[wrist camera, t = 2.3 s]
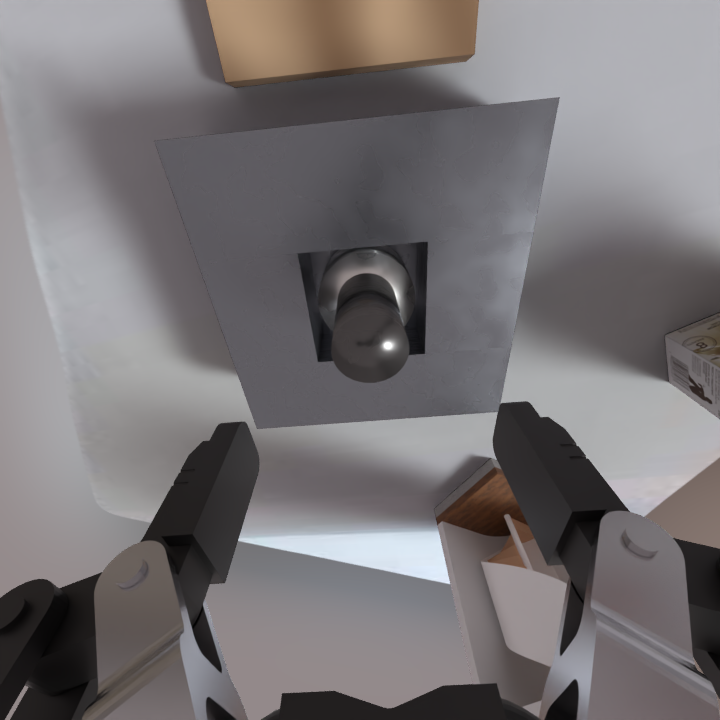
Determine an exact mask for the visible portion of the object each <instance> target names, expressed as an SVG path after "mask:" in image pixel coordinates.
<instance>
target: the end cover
mask: <svg viewBox="0 0 720 720" xmlns="http://www.w3.org/2000/svg"><path fill="white" fill-rule="evenodd" d="M318 304H319V309H320V313H321V315H322V318H323V320H324V321H325V323H326V324H327V326H328V327H329V328H330V329H331V330H332V331H333V338H332V345H331V355H332V359H333V361H334V364H335V365H336V367H337V368H338V370H339V371H340V372H341V373H342V374H344V375H345V376H347V377H348V378H350V379H352V380H355V381H358V382H363V383H376V382H381V381H384V380H387V379H389V378H391V377H392V376H394V375H395V374H397V373H398V372H399V371H400V370H401V369H402V368H403V366H404V365H405V363H406V361H407V359H408V355H409V342H408V338H407V334H406V331H405V327H404V326H405V325H406V324H407V322H408V321H409V319H410V317H411V315H412V312H413V310H414V305H415V290H414V285H413V283H412V280H411V278H410V275H409V273H408V271H407V269H406V266H405V264H404V263H403V261H402V259H401V258H400V256H399V255H398V254H397V253H396V252H395V251H394V250H392V249H391V248H390V247H388V246H386V245H385V246H374V247H363V248H352V249H341V250H338V251H337V252H336V253H335V254H334V255H333V256H332V257H331V259H330V260H329V262H328V263H327V265H326V267H325V270H324V274H323V277H322V281H321V284H320V288H319V293H318Z"/></svg>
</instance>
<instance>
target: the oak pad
mask: <svg viewBox="0 0 720 720" xmlns="http://www.w3.org/2000/svg"><path fill="white" fill-rule="evenodd" d="M206 3H207V7H208V11H209V15H210V19H211V24H212V28H213V32H214V36H215V40H216V45H217V49H218V53H219V57H220V61H221V65H222V70H223V74H224V78H225V82H226V83H228V84H229V85H231V86H233V87H244V86H253V85H262V84H271V83H280V82H288V81H297V80H306V79H315V78H324V77H333V76H342V75H350V74H359V73H368V72H377V71H386V70H395V69H404V68H412V67H421V66H430V65H439V64H448V63H457V62H466V61H467V60H468V59H469V58H471V57H472V56H473V55H474V54H475V42H476V29H477V16H478V4H479V0H206Z"/></svg>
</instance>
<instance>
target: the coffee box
mask: <svg viewBox="0 0 720 720" xmlns="http://www.w3.org/2000/svg"><path fill="white" fill-rule="evenodd" d="M665 344H666V354H667V365H668V375H669V383H670V384H672V385H673V386H675V387H676V388H678V389H679V390H681V391H682V392H683V393H685V394H686V395H687V396H689V397H690V398H691V399H693V400H694V401H696V402H697V403H698V404H700V405H701V406H702V407H704V408H705V409H707V410H708V411H709V412H711V413H712V414H713V415H715V416H716V417H718V418H719V419H720V313H718V314H715V315H713V316H711V317H708V318H706V319H703V320H701V321H698V322H696V323H694V324H691V325H689V326H686V327H684V328H681V329H679V330H676V331H674V332H672V333H669V334H667V335H665Z"/></svg>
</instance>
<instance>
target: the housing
mask: <svg viewBox="0 0 720 720" xmlns="http://www.w3.org/2000/svg"><path fill="white" fill-rule="evenodd" d="M559 98H560V97H558V98H549V99H539V100H530V101H521V102H511V103H502V104H493V105H483V106H474V107H465V108H455V109H446V110H437V111H427V112H418V113H409V114H400V115H390V116H381V117H372V118H362V119H353V120H344V121H334V122H325V123H316V124H306V125H297V126H288V127H278V128H269V129H260V130H251V131H241V132H232V133H223V134H213V135H204V136H195V137H185V138H176V139H167V140H157V141H155V144H156V147H157V150H158V153H159V155H160V158H161V161H162V164H163V167H164V169H165V172H166V175H167V178H168V181H169V184H170V186H171V189H172V192H173V195H174V198H175V200H176V203H177V206H178V209H179V212H180V214H181V217H182V220H183V223H184V226H185V228H186V231H187V234H188V237H189V240H190V242H191V245H192V248H193V251H194V254H195V256H196V259H197V262H198V265H199V268H200V270H201V273H202V276H203V279H204V282H205V284H206V287H207V290H208V293H209V296H210V298H211V301H212V304H213V307H214V310H215V312H216V315H217V318H218V321H219V324H220V326H221V329H222V332H223V335H224V338H225V340H226V343H227V346H228V349H229V352H230V354H231V357H232V360H233V363H234V366H235V368H236V371H237V374H238V377H239V380H240V382H241V385H242V388H243V391H244V394H245V396H246V399H247V402H248V405H249V408H250V410H251V413H252V416H253V419H254V422H255V424H256V427H257V429H263V428H277V427H291V426H305V425H319V424H333V423H348V422H362V421H376V420H390V419H404V418H418V417H432V416H446V415H460V414H474V413H488V412H498V409H499V406H500V402H501V397H502V392H503V387H504V382H505V377H506V371H507V366H508V361H509V356H510V351H511V346H512V340H513V335H514V330H515V325H516V320H517V315H518V309H519V304H520V299H521V294H522V289H523V284H524V278H525V273H526V268H527V263H528V258H529V253H530V247H531V242H532V237H533V232H534V227H535V222H536V216H537V211H538V206H539V201H540V196H541V191H542V185H543V180H544V175H545V170H546V165H547V160H548V154H549V149H550V144H551V139H552V134H553V129H554V123H555V118H556V113H557V108H558V103H559ZM385 245H386V246H388V247H390V248H391V249H392V250H394V251H395V252H396V253H397V254H398V255H399V256H400V258H401V259H402V261H403V263H404V264H405V266H406V269H407V271H408V273H409V275H410V278H411V280H412V283H413V285H414V290H415V305H414V310H413V312H412V315H411V317H410V319H409V321H408V322H407V324H406V325H405V326H404V327H405V331H406V334H407V338H408V342H409V355H408V359H407V361H406V363H405V365H404V366H403V368H402V369H401V370H400V371H399V372H398V373H397V374H395V375H394V376H392V377H391V378H389V379H387V380H384V381H381V382H376V383H363V382H358V381H355V380H352V379H350V378H348V377H347V376H345V375H344V374H342V373H341V372H340V371H339V370H338V368H337V367H336V365H335V364H334V361H333V359H332V355H331V345H332V338H333V331H332V330H331V329H330V328H329V327H328V326H327V324H326V323H325V321H324V320H323V318H322V315H321V313H320V309H319V304H318V293H319V288H320V284H321V281H322V277H323V274H324V270H325V267H326V265H327V263H328V262H329V260H330V259H331V257H332V256H333V255H334V254H335V253H336V252H337V251H338V250H341V249H352V248H363V247H374V246H385Z"/></svg>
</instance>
